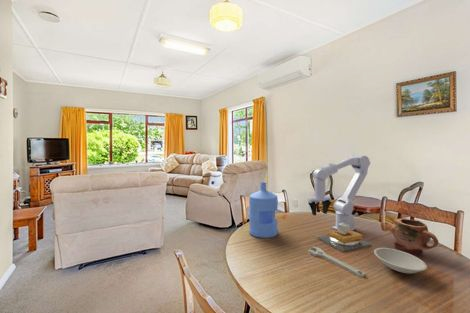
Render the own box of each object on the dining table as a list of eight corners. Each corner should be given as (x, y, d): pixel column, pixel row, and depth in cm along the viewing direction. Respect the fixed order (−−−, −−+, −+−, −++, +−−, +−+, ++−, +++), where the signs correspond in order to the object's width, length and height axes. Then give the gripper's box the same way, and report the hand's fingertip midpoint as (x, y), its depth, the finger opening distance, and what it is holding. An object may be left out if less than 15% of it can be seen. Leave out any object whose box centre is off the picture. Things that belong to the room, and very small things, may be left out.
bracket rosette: (344, 233, 123) (344, 225, 123) (371, 245, 108) (371, 236, 108) (317, 239, 117) (318, 230, 117) (342, 252, 102) (343, 242, 102)
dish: (364, 261, 94) (364, 249, 94) (392, 257, 97) (392, 245, 97) (406, 287, 77) (406, 272, 77) (437, 280, 80) (438, 266, 80)
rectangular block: (341, 236, 115) (341, 222, 115) (349, 238, 112) (349, 224, 112) (337, 238, 113) (337, 224, 113) (345, 240, 110) (345, 226, 110)
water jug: (243, 233, 125) (243, 183, 124) (260, 225, 137) (260, 179, 136) (266, 241, 115) (266, 186, 113) (283, 232, 126) (283, 182, 125)
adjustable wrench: (366, 277, 84) (366, 272, 84) (354, 281, 81) (354, 277, 81) (315, 249, 106) (315, 245, 106) (305, 252, 104) (305, 248, 103)
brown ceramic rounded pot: (448, 261, 94) (449, 228, 93) (429, 267, 89) (430, 232, 89) (399, 242, 112) (399, 214, 112) (381, 246, 108) (381, 217, 108)
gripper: (324, 188, 134) (324, 210, 134) (304, 190, 129) (304, 213, 129) (334, 190, 127) (333, 214, 128) (313, 192, 122) (312, 217, 123)
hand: (319, 214), depth 128 cm, fingers open, 7 cm apart
